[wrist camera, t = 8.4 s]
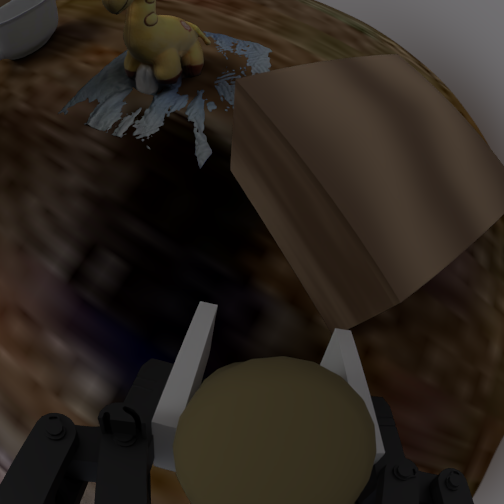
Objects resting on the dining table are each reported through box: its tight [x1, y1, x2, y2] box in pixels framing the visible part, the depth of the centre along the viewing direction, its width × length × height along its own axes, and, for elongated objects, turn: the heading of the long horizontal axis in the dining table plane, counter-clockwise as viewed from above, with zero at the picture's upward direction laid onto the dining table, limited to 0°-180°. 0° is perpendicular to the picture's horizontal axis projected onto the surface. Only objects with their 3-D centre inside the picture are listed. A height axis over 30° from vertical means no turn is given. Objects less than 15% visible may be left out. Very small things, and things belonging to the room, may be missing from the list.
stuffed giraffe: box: [58, 0, 272, 168], centre depth 20 cm, size 16×18×16 cm
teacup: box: [0, 0, 58, 60], centre depth 25 cm, size 14×11×8 cm
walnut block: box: [231, 54, 504, 335], centre depth 18 cm, size 13×13×8 cm
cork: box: [173, 356, 377, 504], centre depth 11 cm, size 6×6×11 cm
